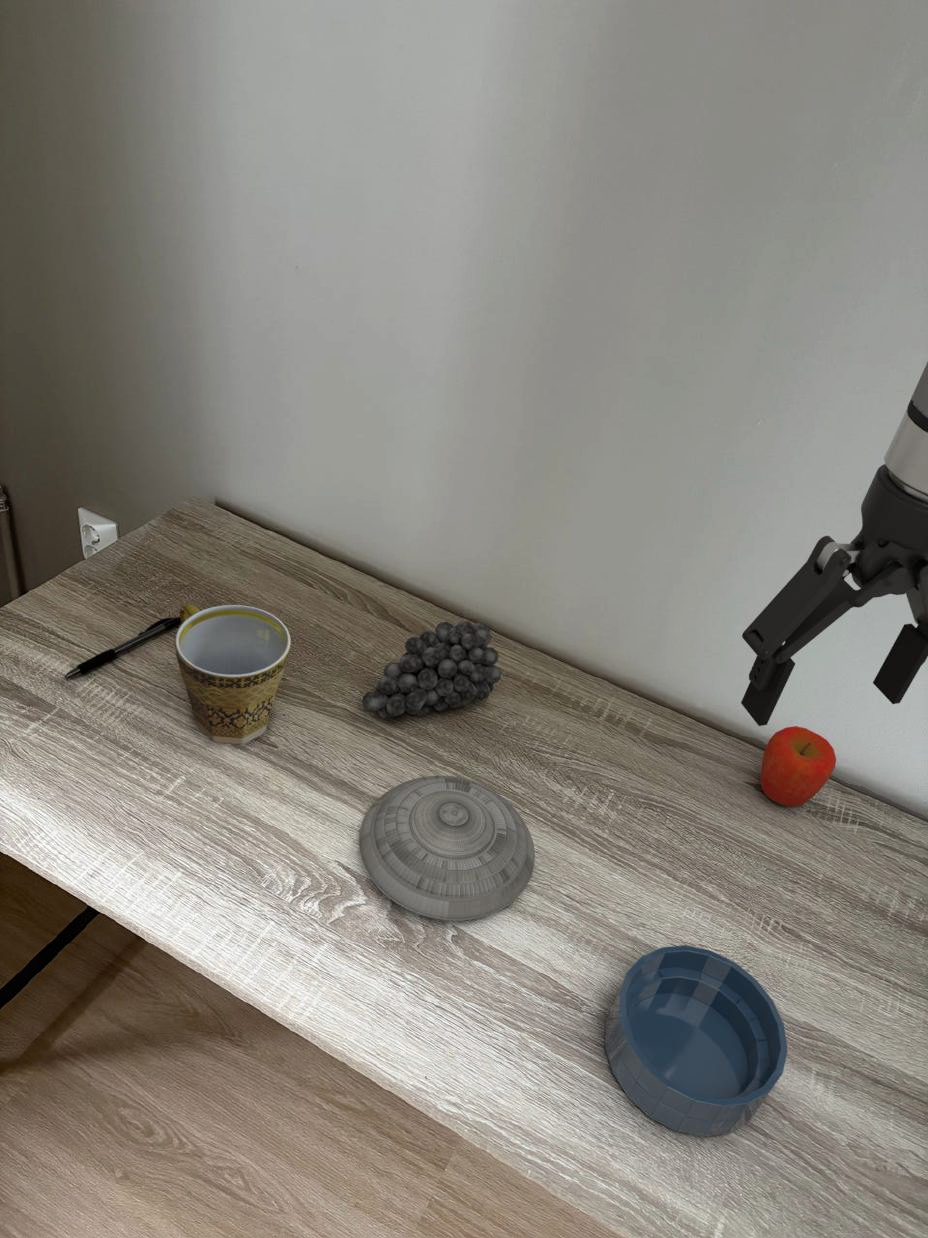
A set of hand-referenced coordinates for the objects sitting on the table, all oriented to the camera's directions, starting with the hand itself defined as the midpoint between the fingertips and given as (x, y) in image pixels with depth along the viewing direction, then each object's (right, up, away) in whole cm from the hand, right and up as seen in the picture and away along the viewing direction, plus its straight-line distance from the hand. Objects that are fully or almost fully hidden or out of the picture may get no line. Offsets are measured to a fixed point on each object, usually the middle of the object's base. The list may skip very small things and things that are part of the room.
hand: (821, 703), depth 81 cm
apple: (+1, -10, +14) cm, 18 cm away
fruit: (-34, -1, +18) cm, 38 cm away
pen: (-63, +4, +17) cm, 66 cm away
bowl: (-13, -25, -9) cm, 30 cm away
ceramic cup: (-53, -2, +12) cm, 54 cm away
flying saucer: (-31, -13, +3) cm, 34 cm away
